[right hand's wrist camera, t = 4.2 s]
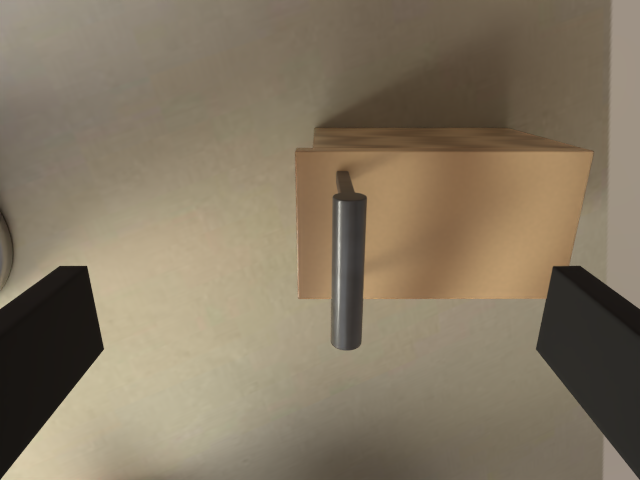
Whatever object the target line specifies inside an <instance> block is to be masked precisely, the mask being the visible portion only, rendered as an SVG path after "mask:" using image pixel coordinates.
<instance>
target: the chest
mask: <svg viewBox="0 0 640 480" xmlns="http://www.w3.org/2000/svg"><path fill="white" fill-rule="evenodd" d="M313 148H580V147H576V146H573V145H569V144H565V143H561V142H558V141H554V140H550V139H547V138H543V137H539V136H536V135H532V134H528V133H525V132H521V131H517V130H513V129H510V128H315V129H314V142H313Z"/></svg>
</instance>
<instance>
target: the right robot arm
mask: <svg viewBox="0 0 640 480" xmlns="http://www.w3.org/2000/svg"><path fill="white" fill-rule="evenodd" d="M12 257H13V252H12V243H11V237H10V234H9V230H8V228H7V225H6V222H5V220H4V218H3V216H2V214H1V212H0V290H1V289H2V288H3V286H4V284H5V283H6V281H7V279H8V277H9V274H10V270H11V266H12ZM103 350H104V347H103V342H102V337H101V332H100V327H99V322H98V317H97V313H96V308H95V303H94V298H93V293H92V288H91V283H90V278H89V273H88V268H87V266H59V267H58V268H56V269H55V270H54V271H52V272H51V273H50V274H48V275H47V276H45V277H44V278H43V279H41V280H40V281H39V282H37V283H36V284H34V285H33V286H32V287H30V288H29V289H28V290H26V291H25V292H23V293H22V294H21V295H19V296H18V297H16V298H15V299H14V300H12V301H11V302H10V303H8V304H7V305H5V306H4V307H3V308H1V309H0V479H1V478H2V477H3V476H4V474H5V473H6V472H7V471H8V469H9V468H10V467H11V466H12V464H13V463H14V462H15V461H16V459H17V458H18V457H19V456H20V454H21V453H22V452H23V450H24V449H25V448H26V447H27V445H28V444H29V443H30V442H31V440H32V439H33V438H34V437H35V435H36V434H37V433H38V432H39V430H40V429H41V428H42V427H43V425H44V424H45V423H46V422H47V420H48V419H49V418H50V416H51V415H52V414H53V413H54V411H55V410H56V409H57V408H58V406H59V405H60V404H61V403H62V401H63V400H64V399H65V398H66V396H67V395H68V394H69V393H70V391H71V390H72V389H73V388H74V386H75V385H76V384H77V382H78V381H79V380H80V379H81V377H82V376H83V375H84V374H85V372H86V371H87V370H88V369H89V367H90V366H91V365H92V364H93V362H94V361H95V360H96V359H97V357H98V356H99V355H100V354H101V352H102V351H103ZM536 350H537V351H538V352H539V354H540V355H541V356H542V357H543V359H544V360H545V361H546V362H547V364H548V365H549V366H550V367H551V369H552V370H553V371H554V372H555V374H556V375H557V376H558V377H559V379H560V380H561V381H562V382H563V384H564V385H565V386H566V388H567V389H568V390H569V391H570V393H571V394H572V395H573V396H574V398H575V399H576V400H577V401H578V403H579V404H580V405H581V406H582V408H583V409H584V410H585V411H586V413H587V414H588V415H589V416H590V418H591V419H592V420H593V422H594V423H595V424H596V425H597V427H598V428H599V429H600V430H601V432H602V433H603V434H604V435H605V437H606V438H607V439H608V440H609V442H610V443H611V444H612V445H613V447H614V448H615V449H616V450H617V452H618V453H619V454H620V455H621V457H622V458H623V459H624V460H625V462H626V463H627V464H628V466H629V467H630V468H631V469H632V471H633V472H634V473H635V474H636V476H637V477H638V478H639V479H640V309H639V308H637V307H636V306H634V305H633V304H632V303H630V302H629V301H628V300H626V299H625V298H624V297H622V296H621V295H619V294H618V293H617V292H615V291H614V290H612V289H611V288H610V287H608V286H607V285H606V284H604V283H603V282H601V281H600V280H599V279H597V278H596V277H595V276H593V275H592V274H590V273H589V272H588V271H586V270H585V269H584V268H582V267H581V266H553V268H552V273H551V278H550V283H549V288H548V293H547V298H546V303H545V308H544V313H543V317H542V322H541V327H540V332H539V337H538V342H537V347H536Z"/></svg>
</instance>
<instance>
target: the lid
mask: <svg viewBox="0 0 640 480" xmlns="http://www.w3.org/2000/svg"><path fill="white" fill-rule="evenodd" d="M593 154H594V151H591V150H587V149H583V148H296V151H295V171H296V222H297V274H298V299H331V343H332V345H333V346H334V347H336V348H337V349H340V350H353V349H356V348H358V347H359V346H360V345H361V339H362V314H363V299H546V298H547V293H548V288H549V283H550V278H551V273H552V268H553V266H569V264H570V259H571V255H572V250H573V245H574V241H575V236H576V232H577V227H578V223H579V218H580V213H581V209H582V204H583V200H584V195H585V191H586V186H587V181H588V177H589V172H590V168H591V163H592V159H593Z"/></svg>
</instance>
